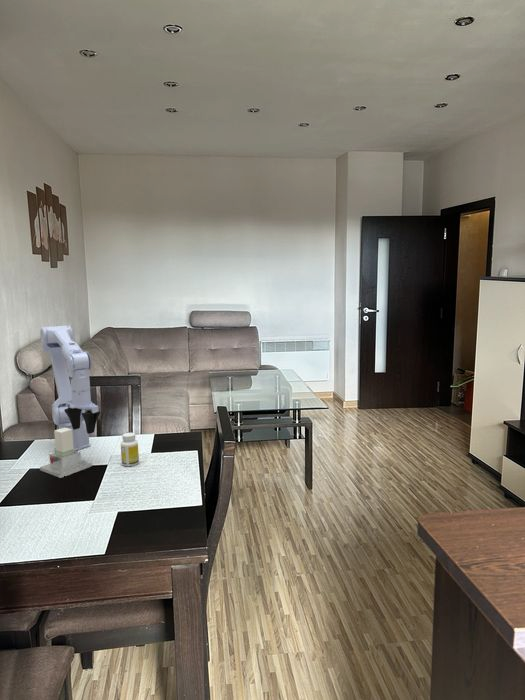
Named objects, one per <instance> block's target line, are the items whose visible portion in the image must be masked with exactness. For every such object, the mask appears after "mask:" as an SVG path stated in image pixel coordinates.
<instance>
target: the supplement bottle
mask: <svg viewBox="0 0 525 700" xmlns="http://www.w3.org/2000/svg"><path fill="white" fill-rule="evenodd" d="M121 437H122V441H121V442H120V455H121V464H122V466H124V467H133V466H136V465H138V464H139V463H140V459H139V457H140V456H139V455H140V454H139V441H138V439H136V433H134V432H126V433H123V434H122V435H121Z"/></svg>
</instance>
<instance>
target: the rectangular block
mask: <svg viewBox="0 0 525 700" xmlns="http://www.w3.org/2000/svg"><path fill="white" fill-rule="evenodd" d="M53 432H54V446H55V448H56V449H55V448H54V449H55V452H56V455H59V456H62V457H64V456H67V455H70V454H73V453H74V447H73V433H72V429H69V428H61V429H59V428H58V429H55V430H53Z"/></svg>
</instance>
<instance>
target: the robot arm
mask: <svg viewBox="0 0 525 700" xmlns="http://www.w3.org/2000/svg"><path fill="white" fill-rule="evenodd" d="M39 332H40V333H39V336H40V342H41V347H42V349H43V353H46V354H48V356H49V358H50V362H51V367H52V371H53V372H52V373H53V377H54V382H55V387H56V392H57V397H58V398H57V399H56V400H55V401H54V402H53V403H52V404H51V405H52V406H51V410H52V411H51V413H52V414H51V415H52V421H53V423H54V424H55V426H58V429H61V428H69V429H72V433H73V447H74V450H75V451H79V450H81V449H85V448H88V447H91V446H92V445H91V443H90V435H91V434H93V433H95V428H96V425H97V421H98V418H99V416H100V415H101V411H100V410H99V405H96V404H95V403H93V402H92V399H91V398H92V397H91V395H92V394H91V382H90V370H91V369H92V357H91V355H90V353H89V351H83V349H82V348H81V347H80V345H79V344H78V343H77V342H76V341H73V339H74V333H73V329H72V327H71V326H70V325H69V324H67V325H59V326H58V325H56V326H55V325H54V326H42V327H41V328H40V331H39ZM54 449H55V450H56V448H54Z"/></svg>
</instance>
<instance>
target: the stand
mask: <svg viewBox="0 0 525 700" xmlns="http://www.w3.org/2000/svg"><path fill="white" fill-rule="evenodd" d="M48 455H49V463H47V464H45V465H42V466H40V467H39V471H41V472H44V473H47V474H49V475H51V476H54V477H57V478H59V479H61V478H64V476H65V477H67V476H70V475H72V474H74V473H77V472H80V471H83V470H86V469H88V468H90V467H92V462H89V461H85V460H82V455H81V451H79V450H76V451H75V450H74V453H73V454H70V455H67V456H64V457H62V456H59V455H56V451H55V452H52V453H49V454H48Z"/></svg>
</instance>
